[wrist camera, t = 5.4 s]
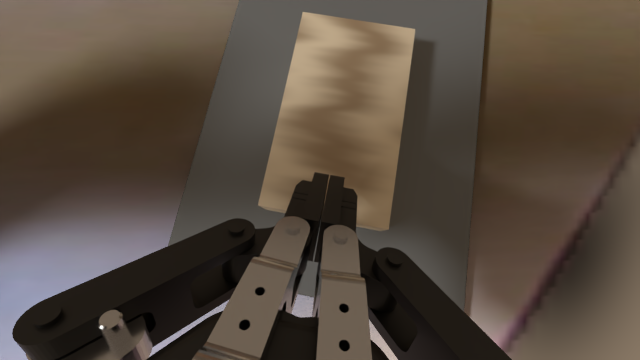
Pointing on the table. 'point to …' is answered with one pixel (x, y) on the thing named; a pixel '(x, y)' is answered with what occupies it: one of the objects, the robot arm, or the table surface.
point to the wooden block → (342, 113)
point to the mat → (416, 138)
